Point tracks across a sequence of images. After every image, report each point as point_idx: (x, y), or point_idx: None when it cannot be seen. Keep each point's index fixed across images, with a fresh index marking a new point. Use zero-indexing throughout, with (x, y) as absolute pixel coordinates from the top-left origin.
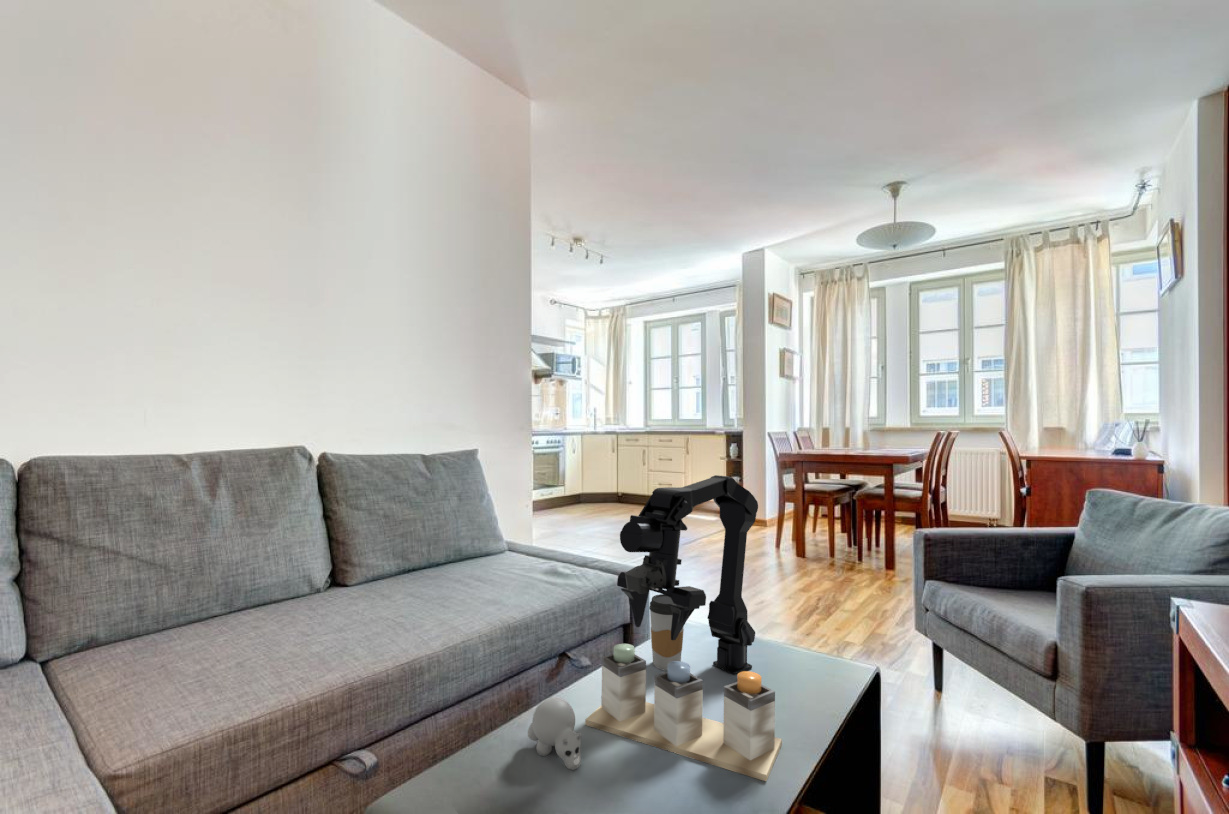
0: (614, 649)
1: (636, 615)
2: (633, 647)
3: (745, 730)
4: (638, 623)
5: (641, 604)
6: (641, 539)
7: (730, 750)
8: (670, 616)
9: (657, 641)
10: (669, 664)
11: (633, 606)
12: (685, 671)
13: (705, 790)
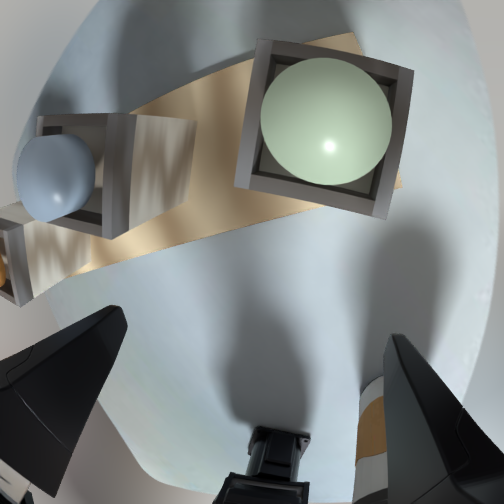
0: (349, 63)
1: (409, 384)
2: (290, 164)
3: (22, 203)
4: (389, 357)
5: (406, 479)
6: None
7: None
8: (374, 488)
9: None
10: (57, 159)
11: (454, 430)
12: (19, 172)
13: (60, 90)
